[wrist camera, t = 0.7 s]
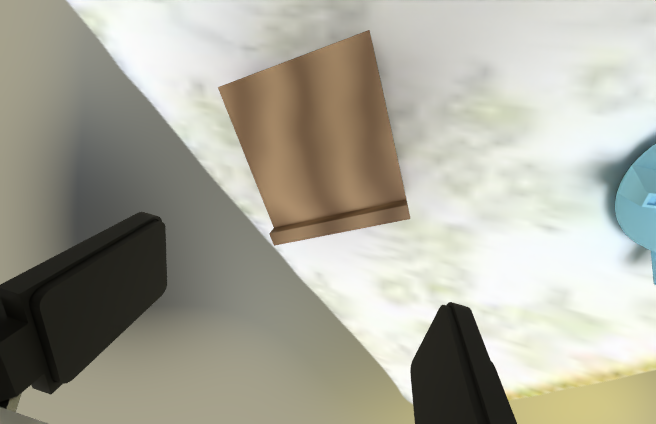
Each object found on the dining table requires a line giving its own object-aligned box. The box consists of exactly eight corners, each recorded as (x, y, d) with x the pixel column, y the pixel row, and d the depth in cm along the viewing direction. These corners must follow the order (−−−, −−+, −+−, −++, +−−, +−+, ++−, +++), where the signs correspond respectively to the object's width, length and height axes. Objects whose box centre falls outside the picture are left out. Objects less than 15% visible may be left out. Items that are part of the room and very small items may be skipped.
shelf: (371, 40, 30) (368, 26, 23) (405, 193, 35) (410, 218, 28) (244, 87, 34) (209, 87, 27) (292, 218, 39) (274, 245, 32)
